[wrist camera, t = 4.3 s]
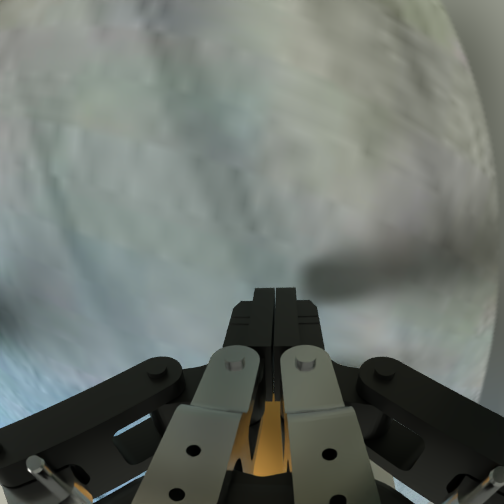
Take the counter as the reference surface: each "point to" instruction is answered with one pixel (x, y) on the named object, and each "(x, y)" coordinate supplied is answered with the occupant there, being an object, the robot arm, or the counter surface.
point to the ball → (269, 442)
